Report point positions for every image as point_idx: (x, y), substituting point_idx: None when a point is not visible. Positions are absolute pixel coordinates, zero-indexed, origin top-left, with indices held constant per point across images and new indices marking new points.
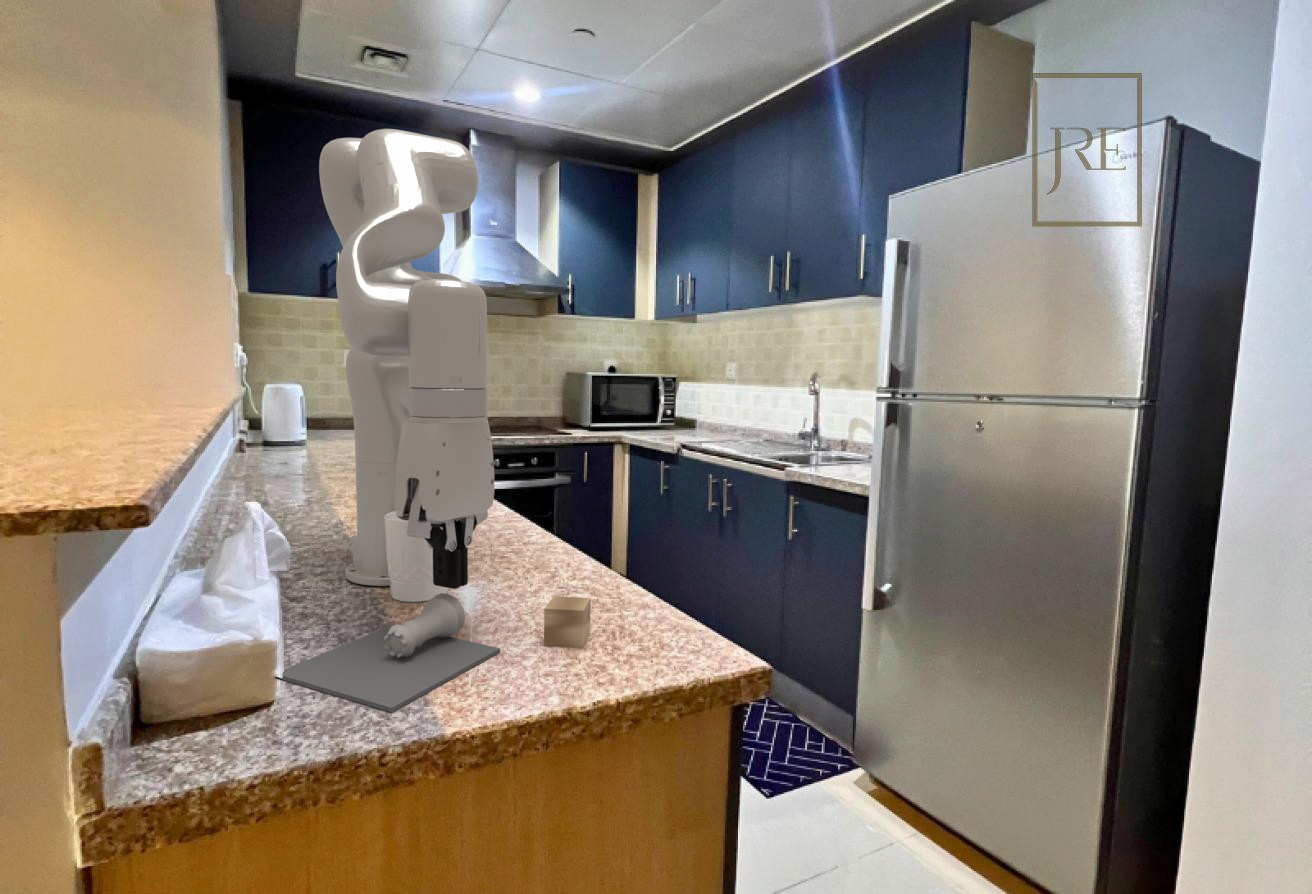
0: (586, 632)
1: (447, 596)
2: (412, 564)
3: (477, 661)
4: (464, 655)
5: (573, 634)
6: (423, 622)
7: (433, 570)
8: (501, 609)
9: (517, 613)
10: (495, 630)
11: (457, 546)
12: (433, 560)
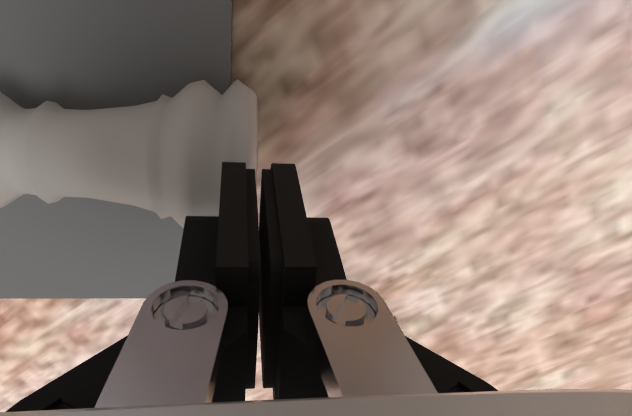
0: None
1: None
2: None
3: (132, 297)
4: (140, 257)
5: None
6: (75, 193)
7: (220, 193)
8: (527, 118)
9: (501, 179)
10: (354, 202)
11: (277, 375)
12: (218, 222)
